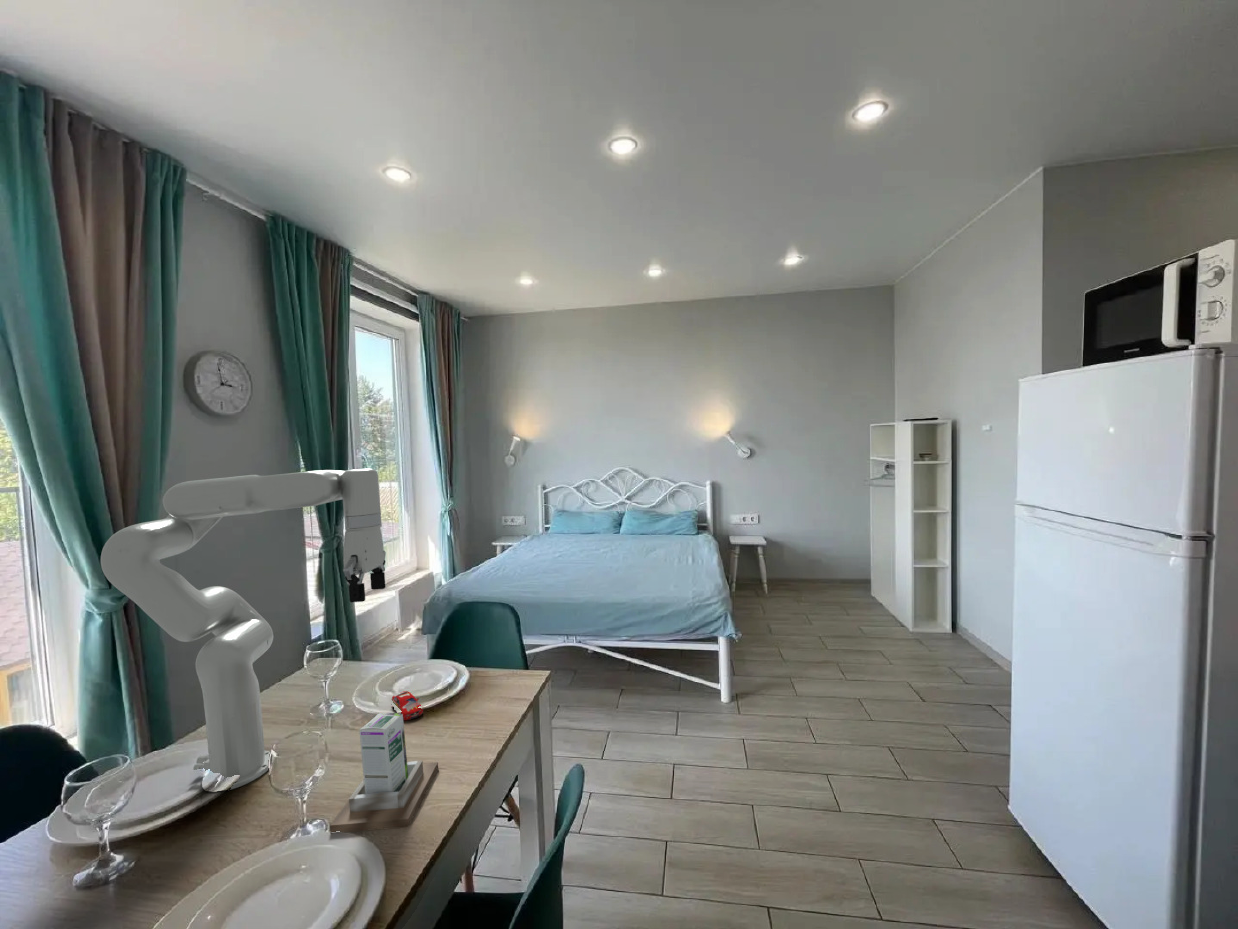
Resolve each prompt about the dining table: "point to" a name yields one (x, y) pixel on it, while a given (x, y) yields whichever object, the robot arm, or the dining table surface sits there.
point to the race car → (407, 705)
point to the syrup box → (384, 753)
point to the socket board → (386, 803)
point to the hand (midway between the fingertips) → (368, 595)
